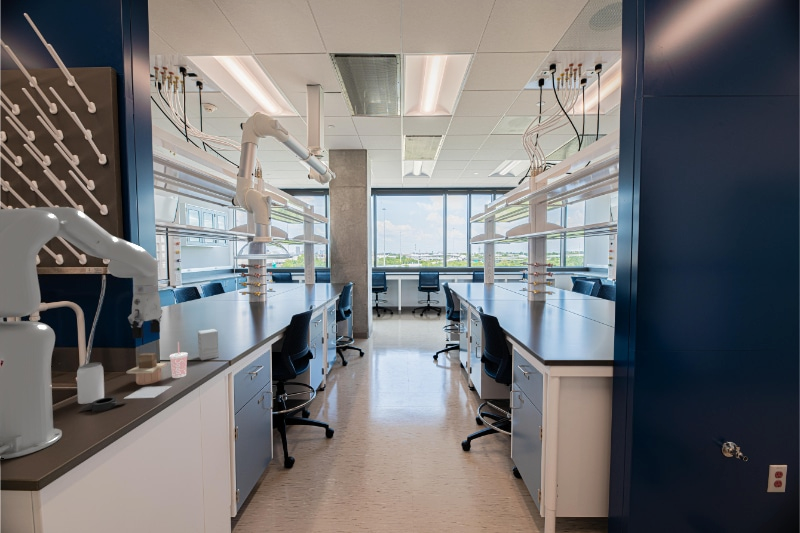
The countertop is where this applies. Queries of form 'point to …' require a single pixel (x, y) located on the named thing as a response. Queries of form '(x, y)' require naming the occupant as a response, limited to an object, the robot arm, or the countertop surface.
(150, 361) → the lid
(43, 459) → the countertop surface
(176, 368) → the beverage cup
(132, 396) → the mat
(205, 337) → the supplement box
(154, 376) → the bowl
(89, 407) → the black winged knob
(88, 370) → the can
